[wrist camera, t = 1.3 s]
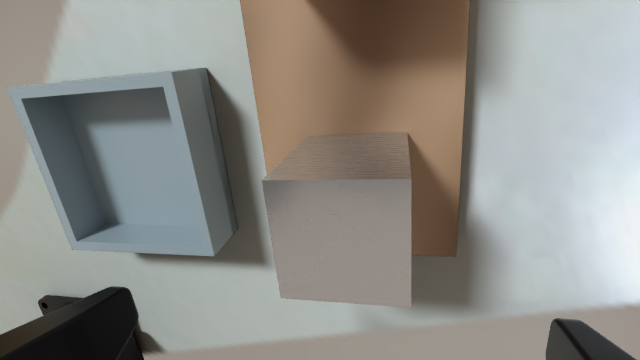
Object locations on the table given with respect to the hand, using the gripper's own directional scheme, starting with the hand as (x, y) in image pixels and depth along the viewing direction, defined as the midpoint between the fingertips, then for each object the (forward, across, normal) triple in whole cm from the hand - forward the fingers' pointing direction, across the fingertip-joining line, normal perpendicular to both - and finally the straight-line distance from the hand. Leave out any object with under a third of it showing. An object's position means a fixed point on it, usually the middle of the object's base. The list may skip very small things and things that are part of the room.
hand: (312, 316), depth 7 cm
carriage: (+8, 0, 0) cm, 8 cm away
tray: (+9, +10, -1) cm, 14 cm away
